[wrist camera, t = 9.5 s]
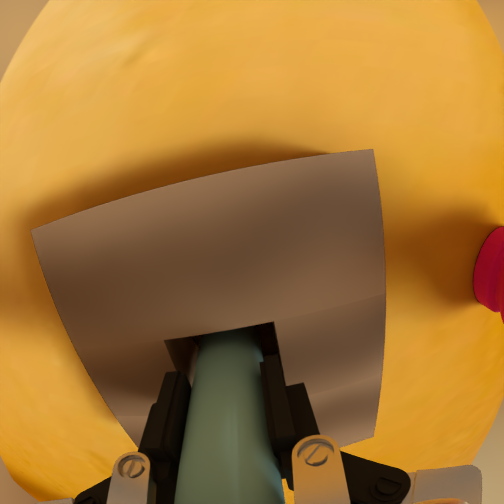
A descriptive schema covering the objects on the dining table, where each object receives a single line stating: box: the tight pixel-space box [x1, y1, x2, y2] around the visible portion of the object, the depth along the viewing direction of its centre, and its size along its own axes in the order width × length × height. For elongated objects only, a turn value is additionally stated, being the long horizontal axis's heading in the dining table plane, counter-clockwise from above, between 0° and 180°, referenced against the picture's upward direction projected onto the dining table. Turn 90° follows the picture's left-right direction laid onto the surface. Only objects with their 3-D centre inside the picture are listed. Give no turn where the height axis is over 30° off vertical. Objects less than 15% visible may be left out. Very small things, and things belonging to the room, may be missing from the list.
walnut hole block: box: [31, 149, 386, 448], centre depth 13 cm, size 16×14×4 cm
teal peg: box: [174, 326, 285, 504], centre depth 8 cm, size 3×3×11 cm
